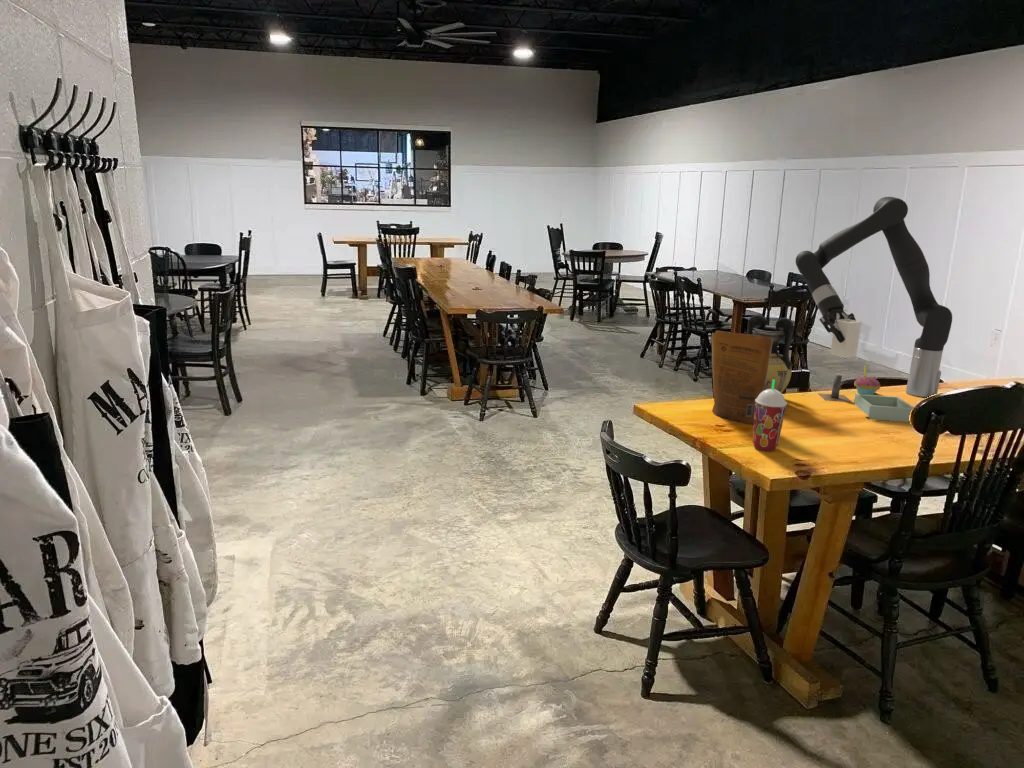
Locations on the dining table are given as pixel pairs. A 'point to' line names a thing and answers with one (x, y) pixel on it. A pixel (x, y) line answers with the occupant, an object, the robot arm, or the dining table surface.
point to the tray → (883, 407)
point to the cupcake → (866, 385)
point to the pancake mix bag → (738, 373)
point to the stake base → (828, 398)
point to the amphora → (775, 349)
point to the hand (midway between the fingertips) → (849, 340)
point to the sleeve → (846, 338)
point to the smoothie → (768, 419)
